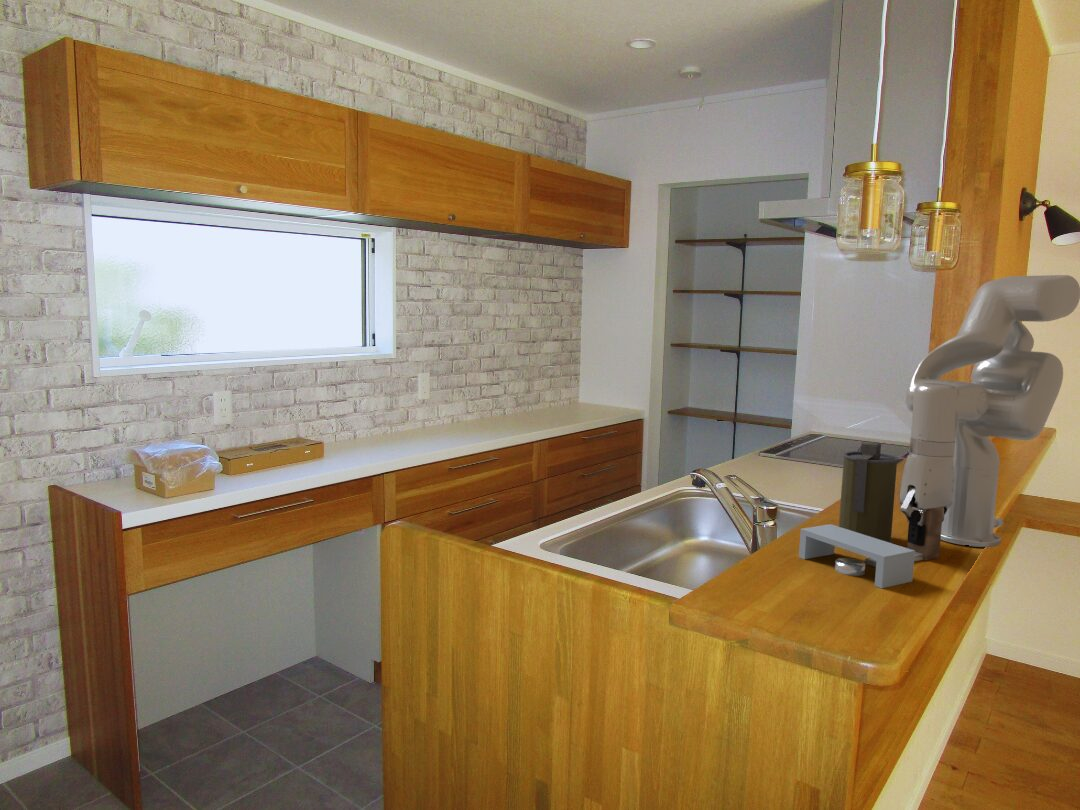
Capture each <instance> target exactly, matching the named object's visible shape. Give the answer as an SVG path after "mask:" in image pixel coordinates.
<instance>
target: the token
mask: <svg viewBox="0 0 1080 810" xmlns="http://www.w3.org/2000/svg"><path fill="white" fill-rule="evenodd" d="M834 563H835V564H834V570H835V572H837V573H839V574H842V575H846V576H853V577H857V576H859V577H860V576H861V577H862V576H863V575H865V574H866V564H865V562H863V561H862V560H859V559H855V558H850V557H839V558H836V559H835V561H834Z"/></svg>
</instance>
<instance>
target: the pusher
mask: <svg viewBox="0 0 1080 810" xmlns="http://www.w3.org/2000/svg"><path fill="white" fill-rule="evenodd" d="M917 506H918V504H916V505H915V507H917ZM915 512H916V513H917V514H918V516H919V513H920V511H916V510H915ZM942 516H943V507H937V508H930V509H928V510H927V511H926V516H925V520H924V524H923V525H925V526H926V531H925V543H924V546H919V545H915V544H912V543H909V542H908V541H907V542H906V543H907V546H906V548H908V549H911V550H914V551H915V556H914V562H918V561H928V560H932V559H939V557H940V549H941V548H940V547H941V539H940V538H941V527H942ZM876 561H877V560H875V559H872V558H869V557H866V558H865V562H864V563H865V565H867V566H871V567H873V568H876Z"/></svg>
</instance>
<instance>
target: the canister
mask: <svg viewBox="0 0 1080 810" xmlns="http://www.w3.org/2000/svg"><path fill="white" fill-rule="evenodd" d="M881 449H882V444H881V443H880V442H877V441H866V442H865V441H864V442H861V445H860V447H859V448H858V449H857V451H847V452H844V453H843V454H842V456H843V463H842V477H841V478H842V480H841V491H840V503H839V505H840V506H839V519H838V527H841V528H844V529H847V530H851V531H854V532H857V533H860V534H863V535H867V536H870V537H873V538H876V539H879V540H882V541H886V542H889V543H892V542H893V539H892V534H893V531H892V530H893V519H894V518H893V516H894V508H895V507H894V506H895V505H894V504H895V493H896V492H895V491H896V480H897V479H896V478H897V469H898V468H897V466H898V462H899V458H898V457H897V456H895V455H892V454H887V453H881Z"/></svg>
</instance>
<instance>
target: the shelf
mask: <svg viewBox="0 0 1080 810" xmlns="http://www.w3.org/2000/svg"><path fill="white" fill-rule="evenodd" d="M835 547H837V548H840V549H844V550H846V551H848V552H852V553H855V554H857V555H861V556H864V557H866V558H872V559H875V560H877V561H876V567H875V573H874V574H875V577H874V587H877V588H879V589H886V588H890V587H894V586H898V585H902V584H907V583H912V582H913V581H914V580H913V579H914V577H913V576H914V566H915V561H914V556H915V551H914V550H911V549H908V548H907V547H904V546H901V545H897V544H894V543H892V542H891V543H889V542H886V541H882V540H879V539H876V538H873V537H870V536H867V535H863V534H860V533H857V532H854V531H851V530H847V529H844V528H841V527H839V525H835V524H831V523H830V524H829V523H828V524H824V525H816V526H810V527H803V528H800V533H799V547H798V548H799V549H798V558H800V559H803V560H808V559H813V558H818V557H819V558H821V557H823V556H829V555H834V554H835Z"/></svg>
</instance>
